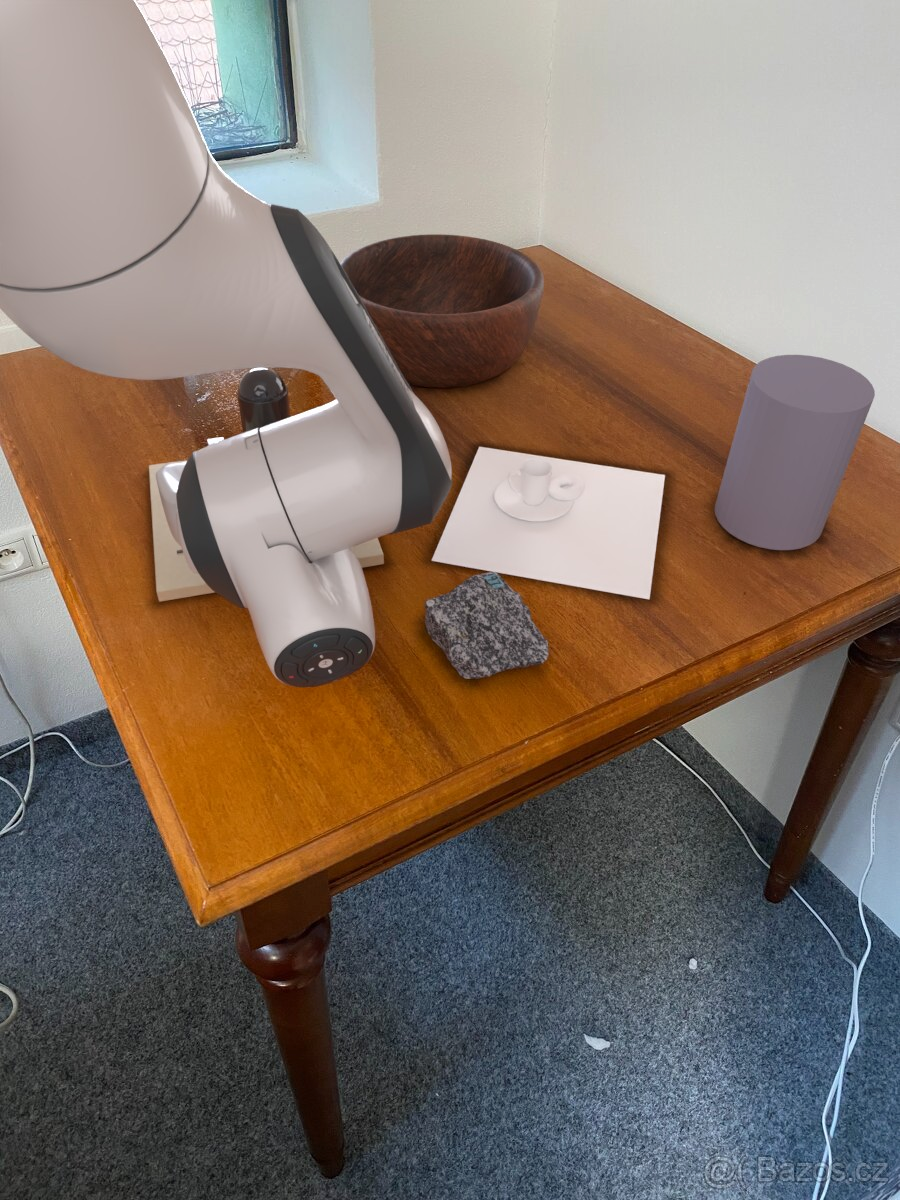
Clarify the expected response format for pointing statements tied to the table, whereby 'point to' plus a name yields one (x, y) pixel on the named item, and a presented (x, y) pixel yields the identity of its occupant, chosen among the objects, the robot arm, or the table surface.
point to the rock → (484, 628)
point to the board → (172, 564)
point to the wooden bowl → (448, 304)
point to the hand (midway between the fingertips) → (268, 437)
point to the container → (791, 450)
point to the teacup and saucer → (556, 522)
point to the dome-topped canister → (262, 398)
